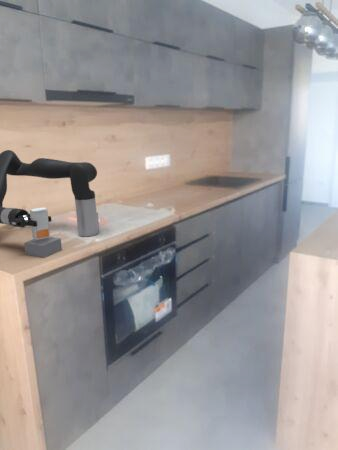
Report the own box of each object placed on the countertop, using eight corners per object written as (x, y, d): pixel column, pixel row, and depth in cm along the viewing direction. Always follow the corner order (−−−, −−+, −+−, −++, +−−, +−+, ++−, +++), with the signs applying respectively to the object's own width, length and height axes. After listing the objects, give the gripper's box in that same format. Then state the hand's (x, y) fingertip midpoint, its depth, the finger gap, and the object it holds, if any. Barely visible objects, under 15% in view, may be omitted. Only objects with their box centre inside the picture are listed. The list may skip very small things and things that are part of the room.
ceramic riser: (44, 246, 158) (42, 235, 156) (61, 249, 153) (60, 238, 152) (25, 254, 149) (24, 242, 148) (43, 257, 145) (42, 245, 143)
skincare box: (35, 240, 146) (32, 211, 143) (32, 237, 149) (28, 209, 146) (50, 237, 149) (47, 208, 146) (47, 234, 153) (44, 206, 149)
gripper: (29, 221, 161) (57, 225, 154) (1, 230, 149) (30, 235, 141) (27, 204, 159) (55, 208, 151) (-2, 212, 147) (28, 216, 139)
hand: (43, 221), depth 146 cm, fingers closed on skincare box, 7 cm apart
